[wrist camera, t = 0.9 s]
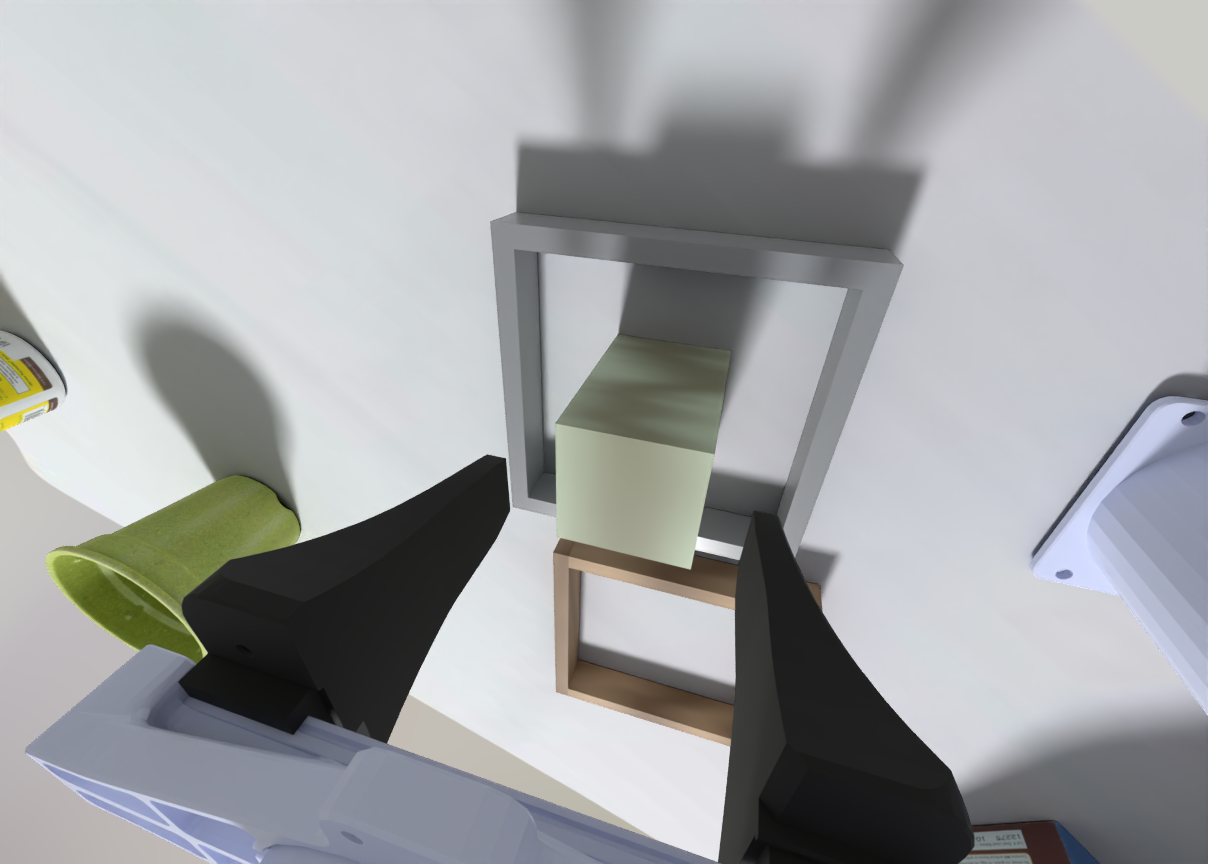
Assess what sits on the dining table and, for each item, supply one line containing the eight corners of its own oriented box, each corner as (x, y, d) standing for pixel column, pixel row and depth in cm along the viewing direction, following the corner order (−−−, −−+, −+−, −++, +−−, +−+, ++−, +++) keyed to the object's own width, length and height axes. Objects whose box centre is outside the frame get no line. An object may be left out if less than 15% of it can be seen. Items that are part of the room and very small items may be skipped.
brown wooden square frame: (819, 584, 23) (823, 620, 21) (760, 721, 30) (760, 755, 28) (566, 525, 26) (553, 552, 24) (566, 663, 33) (555, 692, 31)
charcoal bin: (889, 249, 15) (903, 265, 14) (788, 538, 22) (789, 572, 21) (515, 212, 18) (490, 221, 16) (529, 481, 25) (512, 507, 23)
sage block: (731, 350, 18) (714, 454, 13) (712, 446, 21) (690, 569, 15) (618, 334, 19) (555, 423, 14) (612, 427, 22) (556, 536, 16)
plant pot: (316, 484, 30) (177, 597, 23) (330, 578, 35) (222, 692, 28) (185, 431, 31) (13, 524, 24) (219, 531, 36) (86, 630, 29)
